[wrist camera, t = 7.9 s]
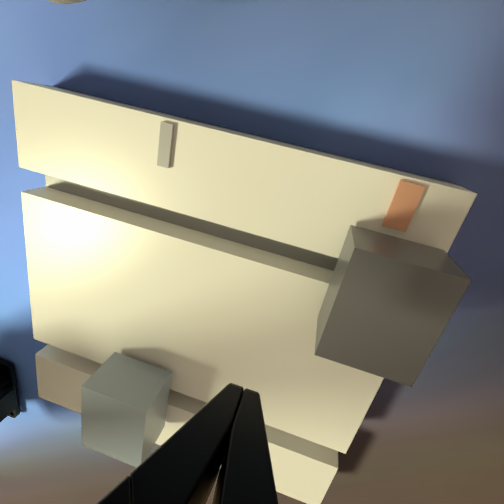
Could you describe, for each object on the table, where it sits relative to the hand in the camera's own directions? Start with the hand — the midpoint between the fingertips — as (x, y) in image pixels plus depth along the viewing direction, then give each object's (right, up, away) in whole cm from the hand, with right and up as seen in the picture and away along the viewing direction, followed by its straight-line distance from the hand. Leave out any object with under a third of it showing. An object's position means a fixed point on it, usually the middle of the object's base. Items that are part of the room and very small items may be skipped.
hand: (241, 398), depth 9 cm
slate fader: (-7, -5, +14) cm, 16 cm away
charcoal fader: (+6, +3, +8) cm, 10 cm away
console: (-3, 0, +12) cm, 13 cm away
